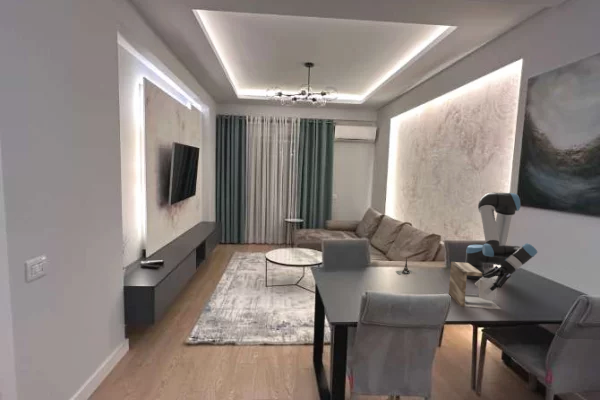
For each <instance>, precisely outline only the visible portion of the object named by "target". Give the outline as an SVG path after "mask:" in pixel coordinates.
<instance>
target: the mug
mask: <svg viewBox="0 0 600 400" xmlns="http://www.w3.org/2000/svg"><path fill="white" fill-rule="evenodd" d="M495 281H496V279H493V278H480V281H479V284H478V287H477V288H478V295H479V297H480V298H481V299H484V300H489V301H492V302H494V301H496V297H497V289H498V288H496V289H494V290H493V291H492V292H491V293H489V294H488V295H487V294H486V293H485V292H484V290H485V289H487V288H488V287H489V286H490V285H492V284H493V283H495Z"/></svg>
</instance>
